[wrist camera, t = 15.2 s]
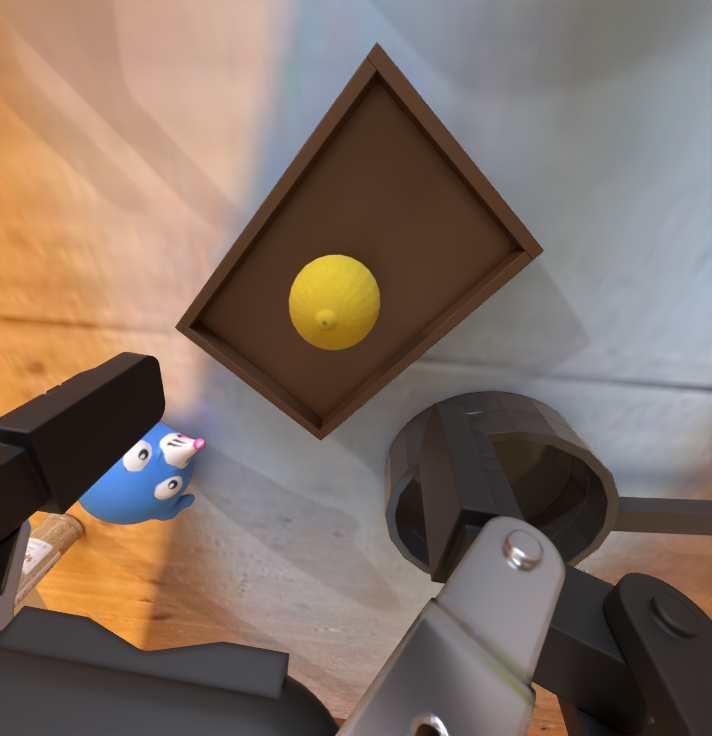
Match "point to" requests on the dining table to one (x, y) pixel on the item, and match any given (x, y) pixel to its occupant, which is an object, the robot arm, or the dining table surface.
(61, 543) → the sprinkles bottle
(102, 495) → the blue mole toy
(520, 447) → the pan
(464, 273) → the tray
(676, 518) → the pan handle
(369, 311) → the lemon
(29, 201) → the dining table surface
